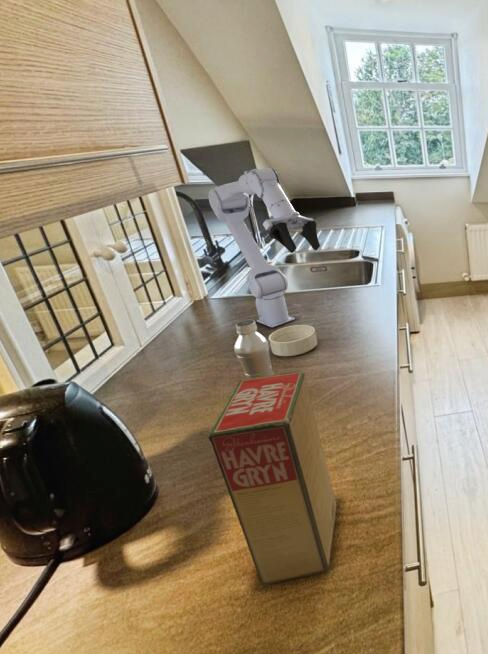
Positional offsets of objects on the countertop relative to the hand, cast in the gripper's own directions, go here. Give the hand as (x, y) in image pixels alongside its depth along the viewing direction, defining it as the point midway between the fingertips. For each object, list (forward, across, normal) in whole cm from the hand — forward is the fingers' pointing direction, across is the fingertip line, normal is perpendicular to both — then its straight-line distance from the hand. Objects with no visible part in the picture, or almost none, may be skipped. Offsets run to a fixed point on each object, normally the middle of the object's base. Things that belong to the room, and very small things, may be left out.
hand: (305, 249), depth 120 cm
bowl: (+18, -2, +22) cm, 29 cm away
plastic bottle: (+33, -24, +10) cm, 42 cm away
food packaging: (+59, -47, -16) cm, 77 cm away
